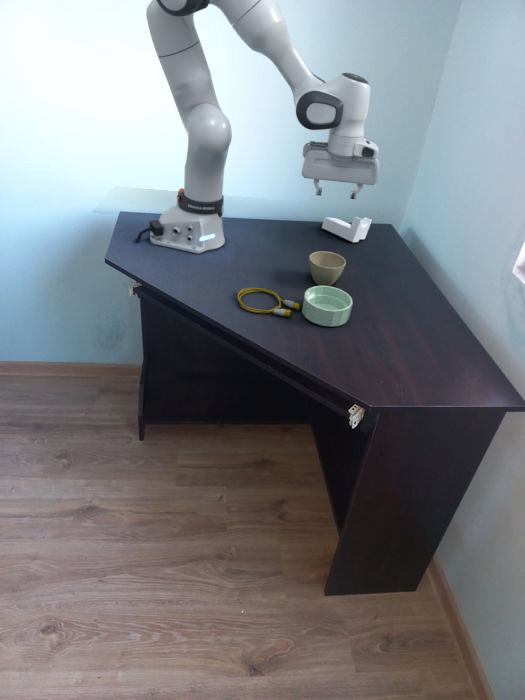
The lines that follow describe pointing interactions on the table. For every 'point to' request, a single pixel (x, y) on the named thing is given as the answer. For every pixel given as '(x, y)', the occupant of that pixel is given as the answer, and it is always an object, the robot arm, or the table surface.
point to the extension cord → (275, 311)
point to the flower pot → (326, 267)
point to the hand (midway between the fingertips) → (335, 196)
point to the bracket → (348, 228)
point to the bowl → (327, 306)
